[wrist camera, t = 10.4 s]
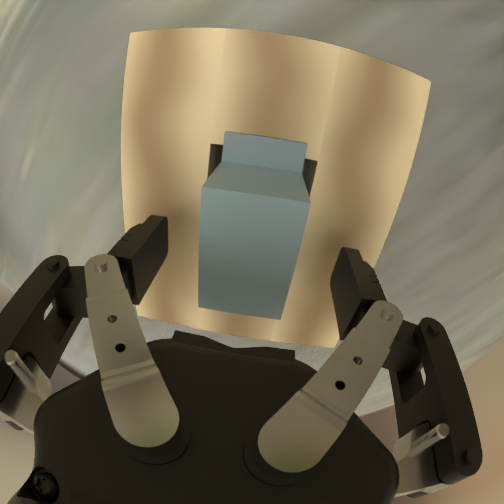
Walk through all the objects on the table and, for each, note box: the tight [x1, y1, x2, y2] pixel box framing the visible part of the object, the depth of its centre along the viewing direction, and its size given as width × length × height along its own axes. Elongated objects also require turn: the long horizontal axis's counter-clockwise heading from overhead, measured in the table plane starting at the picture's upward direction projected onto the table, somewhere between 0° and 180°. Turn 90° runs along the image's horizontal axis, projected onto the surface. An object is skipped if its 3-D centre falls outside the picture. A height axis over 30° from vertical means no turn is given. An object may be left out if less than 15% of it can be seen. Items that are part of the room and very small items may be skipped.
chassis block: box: [121, 28, 431, 348], centre depth 17 cm, size 16×20×4 cm
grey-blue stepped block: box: [198, 131, 311, 320], centre depth 15 cm, size 4×9×8 cm, turn 173°
